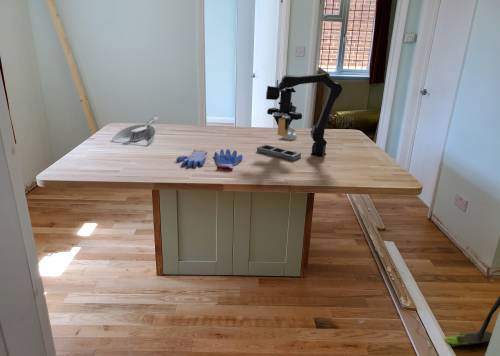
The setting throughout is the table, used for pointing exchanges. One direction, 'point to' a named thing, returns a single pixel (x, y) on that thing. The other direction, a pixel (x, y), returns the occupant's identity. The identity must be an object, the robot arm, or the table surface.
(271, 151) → the rail
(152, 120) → the dustpan and brush
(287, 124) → the robot arm
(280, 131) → the orange peg
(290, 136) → the wall hook
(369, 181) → the table surface
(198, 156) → the pair of gloves
